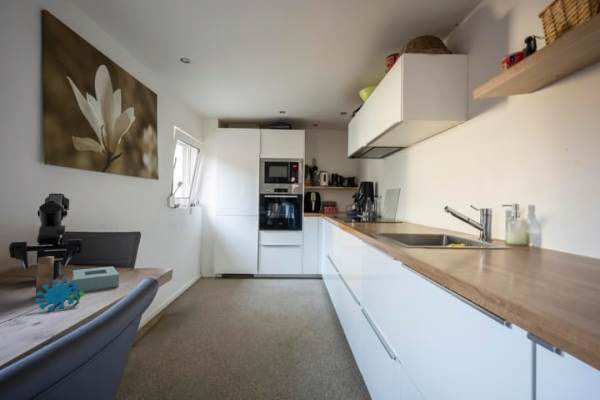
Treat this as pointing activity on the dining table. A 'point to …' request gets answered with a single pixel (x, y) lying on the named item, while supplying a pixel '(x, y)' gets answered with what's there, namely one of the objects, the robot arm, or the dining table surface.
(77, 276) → the housing
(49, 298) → the gear
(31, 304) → the dining table surface
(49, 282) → the peg
